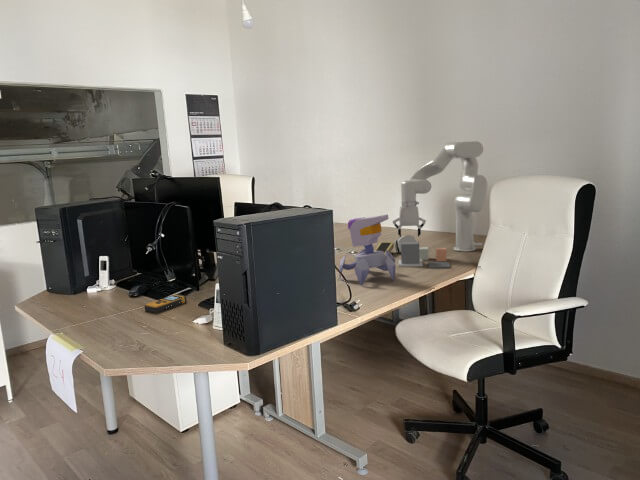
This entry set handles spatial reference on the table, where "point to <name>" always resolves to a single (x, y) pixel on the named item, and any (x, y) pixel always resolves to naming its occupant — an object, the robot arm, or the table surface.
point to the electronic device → (165, 303)
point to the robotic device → (368, 248)
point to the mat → (439, 264)
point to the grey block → (423, 253)
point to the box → (385, 247)
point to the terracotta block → (440, 254)
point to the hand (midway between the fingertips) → (409, 236)
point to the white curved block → (403, 239)
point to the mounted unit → (410, 255)
